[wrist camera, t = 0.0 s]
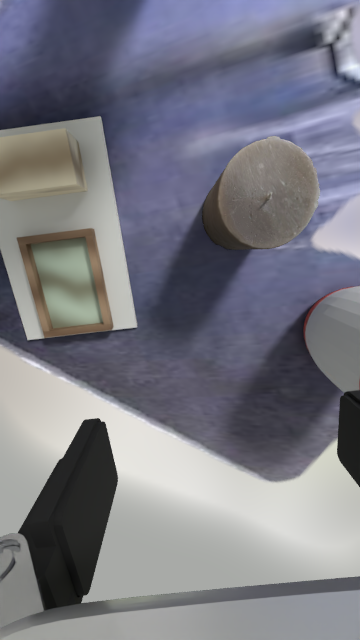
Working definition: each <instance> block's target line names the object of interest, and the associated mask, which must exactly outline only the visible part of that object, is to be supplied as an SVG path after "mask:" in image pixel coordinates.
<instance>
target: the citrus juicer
mask: <svg viewBox="0 0 360 640" xmlns="http://www.w3.org/2000/svg"><path fill="white" fill-rule="evenodd" d="M303 330H304V340H305V343H306V347H307V349H308V351H309V353H310V355H311V356H312V358H313V360H314V362H315V363H316V364H317V366H318V367H319V369H320V370H321V371H322V372H323V373H324V374H325V375H326V376H327V377H328V378H329V379H330V380H331V381H332V382H333V383H334V384H335V385H336V386H337V387H338V388H339V389H340V390H342V391H343V392H344V393H345V392H346V391H355V390H360V286H357V287H348V288H342V289H340V290H337V291H334V292H332V293H329V294H327V295H326V296H324V297H322V298H321V299H320V300H318V301H317V302H316V303H315V304H314V305H313V306H312V308H311V309H310V311H309V312H308V314H307V316H306V319H305V322H304V328H303Z"/></svg>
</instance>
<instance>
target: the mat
mask: <svg viewBox="0 0 360 640" xmlns="http://www.w3.org/2000/svg"><path fill="white" fill-rule="evenodd" d="M63 128H66V129H67V130H68V131H69V133H70V134H71V135H72V136H73V137H74V138H75V139H76V140H77V141H78V143H79V148H80V153H81V158H82V163H83V168H84V173H85V178H86V183H87V188H88V191H84V192H77V193H69V194H62V195H54V196H47V197H39V198H31V199H24V200H16V201H9V200H5V199H2V198H0V249H1V253H2V256H3V259H4V263H5V266H6V269H7V273H8V276H9V279H10V283H11V286H12V289H13V293H14V296H15V299H16V303H17V306H18V309H19V313H20V316H21V319H22V323H23V326H24V329H25V333H26V336H27V339H28V340H33V339H42V338H44V334H43V331H42V327H41V324H40V320H39V316H38V313H37V309H36V306H35V302H34V299H33V295H32V291H31V288H30V284H29V281H28V277H27V274H26V270H25V266H24V263H23V259H22V256H21V252H20V249H19V245H18V242H17V237H25V236H33V235H41V234H48V233H56V232H64V231H72V230H80V229H87V228H93V229H94V231H95V236H96V241H97V246H98V251H99V256H100V261H101V266H102V271H103V276H104V281H105V286H106V291H107V296H108V301H109V306H110V311H111V316H112V321H113V326H114V327H113V329H112V330H119V329H127V328H136V327H137V321H136V315H135V309H134V303H133V298H132V292H131V286H130V280H129V274H128V269H127V263H126V257H125V251H124V246H123V240H122V234H121V228H120V223H119V217H118V211H117V205H116V199H115V194H114V188H113V182H112V176H111V171H110V165H109V159H108V153H107V147H106V142H105V136H104V130H103V124H102V119H101V117H100V116H98V117H91V118H84V119H77V120H70V121H63V122H56V123H49V124H41V125H34V126H27V127H20V128H13V129H6V130H0V137H6V136H13V135H20V134H27V133H34V132H41V131H49V130H56V129H63ZM107 331H110V330H107ZM98 332H102V331H98ZM89 333H93V332H89ZM81 334H84V333H81ZM72 335H76V334H72ZM64 336H67V335H64ZM55 337H59V336H55ZM47 338H50V337H47Z"/></svg>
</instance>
